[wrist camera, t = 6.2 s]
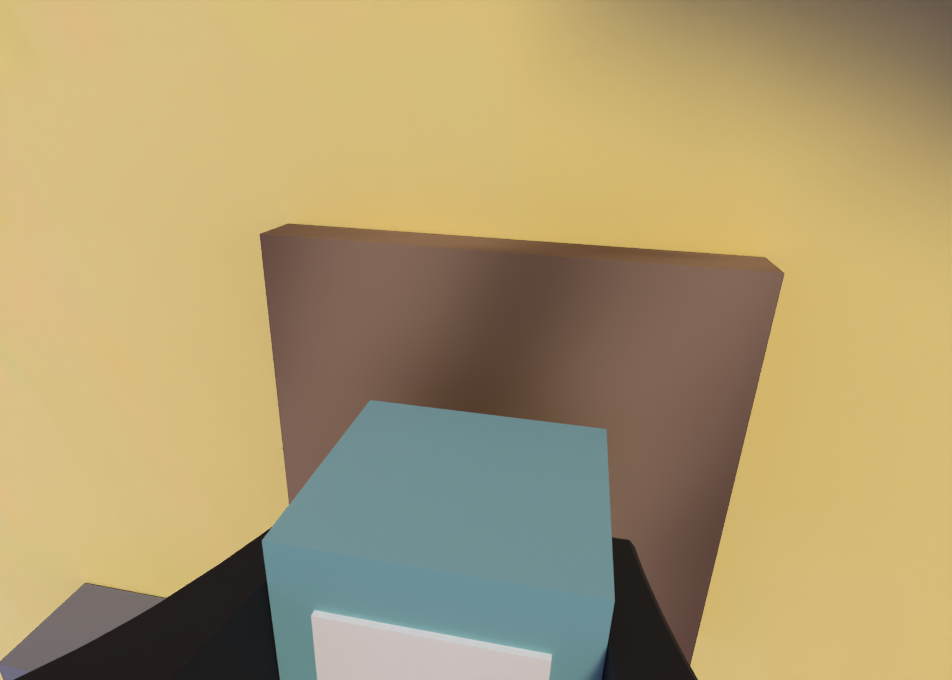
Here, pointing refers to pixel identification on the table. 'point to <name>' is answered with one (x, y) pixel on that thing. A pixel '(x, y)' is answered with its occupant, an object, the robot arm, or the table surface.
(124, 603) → the bin
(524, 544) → the labelled block
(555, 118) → the table surface
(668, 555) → the pad
